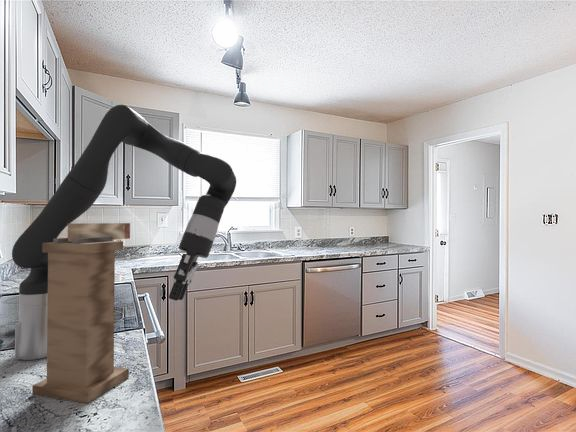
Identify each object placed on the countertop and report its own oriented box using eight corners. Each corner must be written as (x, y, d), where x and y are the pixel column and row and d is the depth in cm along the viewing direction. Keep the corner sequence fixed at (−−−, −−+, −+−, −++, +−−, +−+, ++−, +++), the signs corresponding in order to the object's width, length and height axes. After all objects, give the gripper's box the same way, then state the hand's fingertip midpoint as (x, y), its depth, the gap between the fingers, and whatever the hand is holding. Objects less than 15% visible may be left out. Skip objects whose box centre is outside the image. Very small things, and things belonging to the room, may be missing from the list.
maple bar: (120, 238, 90) (120, 223, 90) (130, 238, 89) (130, 223, 89) (67, 241, 74) (67, 223, 74) (78, 242, 73) (79, 223, 74)
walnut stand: (79, 370, 84) (80, 236, 84) (128, 376, 80) (129, 236, 81) (32, 395, 72) (34, 238, 73) (87, 403, 69) (89, 239, 69)
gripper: (187, 236, 92) (165, 295, 88) (181, 225, 79) (154, 294, 74) (214, 244, 93) (193, 303, 89) (213, 235, 79) (187, 304, 75)
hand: (175, 299), depth 81 cm, fingers open, 8 cm apart
